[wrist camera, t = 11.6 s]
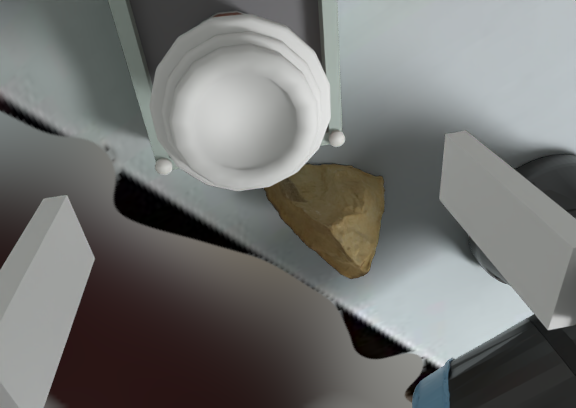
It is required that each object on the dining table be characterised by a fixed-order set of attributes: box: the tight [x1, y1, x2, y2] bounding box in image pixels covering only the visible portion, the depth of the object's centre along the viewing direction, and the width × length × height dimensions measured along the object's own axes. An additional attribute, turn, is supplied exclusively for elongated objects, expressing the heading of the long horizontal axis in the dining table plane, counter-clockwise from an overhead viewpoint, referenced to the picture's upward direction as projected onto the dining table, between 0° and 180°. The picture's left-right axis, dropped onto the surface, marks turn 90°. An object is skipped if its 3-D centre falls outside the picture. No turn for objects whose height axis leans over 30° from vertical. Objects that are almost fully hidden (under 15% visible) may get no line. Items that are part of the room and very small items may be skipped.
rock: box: [264, 164, 385, 279], centre depth 39 cm, size 11×9×10 cm
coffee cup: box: [149, 11, 331, 191], centre depth 26 cm, size 9×9×12 cm
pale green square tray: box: [108, 0, 345, 175], centre depth 32 cm, size 14×14×5 cm
